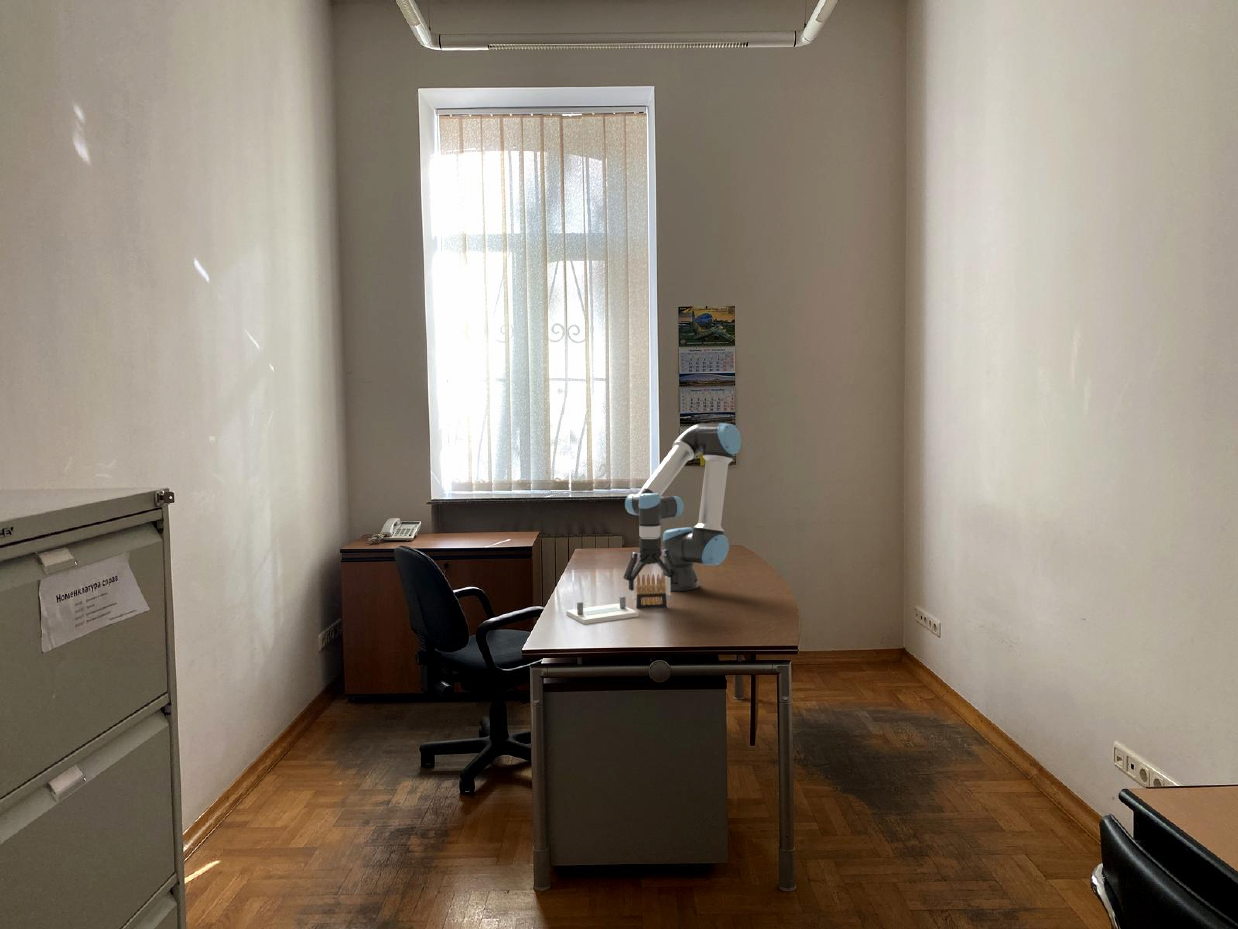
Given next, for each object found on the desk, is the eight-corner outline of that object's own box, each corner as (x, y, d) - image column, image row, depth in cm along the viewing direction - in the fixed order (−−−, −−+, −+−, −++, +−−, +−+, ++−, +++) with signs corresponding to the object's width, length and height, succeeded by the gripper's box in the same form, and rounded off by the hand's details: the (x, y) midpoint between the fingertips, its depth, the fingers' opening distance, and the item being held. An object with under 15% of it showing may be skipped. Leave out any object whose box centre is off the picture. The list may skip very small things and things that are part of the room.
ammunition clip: (636, 608, 302) (635, 575, 301) (636, 607, 304) (635, 574, 303) (666, 607, 303) (666, 574, 302) (666, 606, 305) (665, 572, 304)
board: (618, 607, 304) (618, 592, 304) (638, 616, 291) (637, 600, 291) (566, 614, 296) (566, 599, 295) (583, 624, 282) (583, 607, 282)
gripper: (675, 533, 311) (676, 591, 312) (613, 538, 300) (614, 599, 301) (686, 535, 304) (686, 595, 305) (622, 541, 293) (624, 603, 294)
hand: (650, 597), depth 303 cm, fingers open, 13 cm apart
